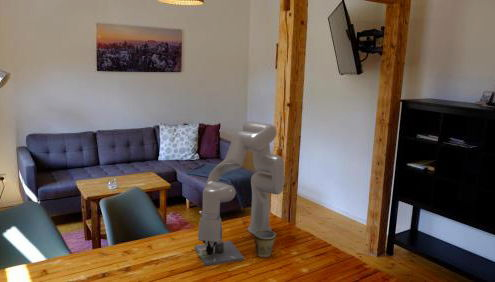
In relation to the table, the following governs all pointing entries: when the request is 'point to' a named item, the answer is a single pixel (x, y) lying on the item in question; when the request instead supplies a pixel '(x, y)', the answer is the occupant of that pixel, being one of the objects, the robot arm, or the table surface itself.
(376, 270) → the table surface
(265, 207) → the robot arm
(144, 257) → the table surface
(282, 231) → the table surface
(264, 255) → the ceramic cup
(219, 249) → the peg
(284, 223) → the table surface
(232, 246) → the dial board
